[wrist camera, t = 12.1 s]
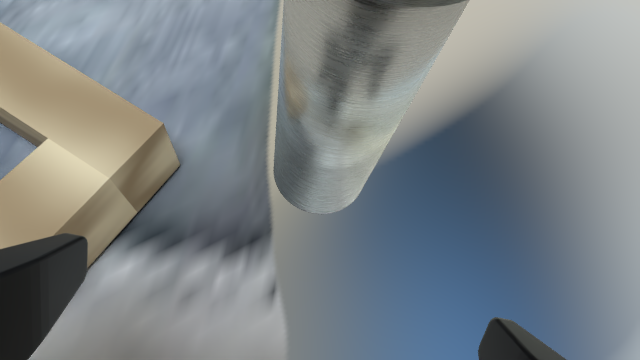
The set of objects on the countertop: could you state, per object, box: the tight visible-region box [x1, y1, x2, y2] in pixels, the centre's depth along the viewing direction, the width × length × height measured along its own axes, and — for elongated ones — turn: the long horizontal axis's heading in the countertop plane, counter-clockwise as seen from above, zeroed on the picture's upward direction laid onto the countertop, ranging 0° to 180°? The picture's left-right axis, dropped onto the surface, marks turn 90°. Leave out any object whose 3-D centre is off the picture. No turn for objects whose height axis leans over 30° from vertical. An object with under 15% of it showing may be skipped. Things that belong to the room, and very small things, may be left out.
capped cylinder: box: [274, 0, 469, 214], centre depth 13 cm, size 5×5×13 cm
